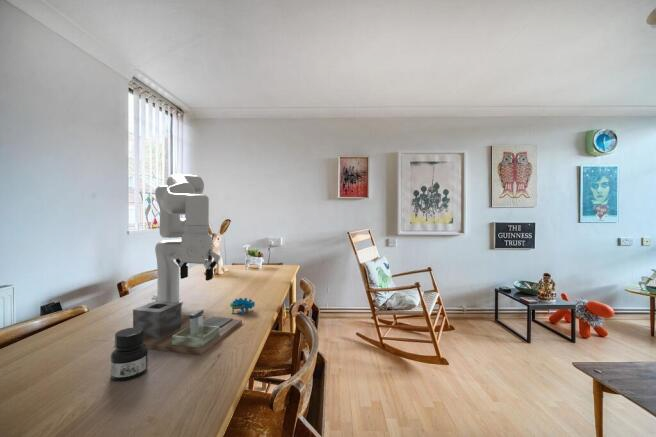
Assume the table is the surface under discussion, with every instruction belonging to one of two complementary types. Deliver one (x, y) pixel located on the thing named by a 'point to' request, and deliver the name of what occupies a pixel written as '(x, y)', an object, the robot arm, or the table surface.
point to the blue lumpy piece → (242, 304)
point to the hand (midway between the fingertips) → (196, 278)
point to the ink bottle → (129, 354)
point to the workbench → (178, 328)
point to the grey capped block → (196, 324)
